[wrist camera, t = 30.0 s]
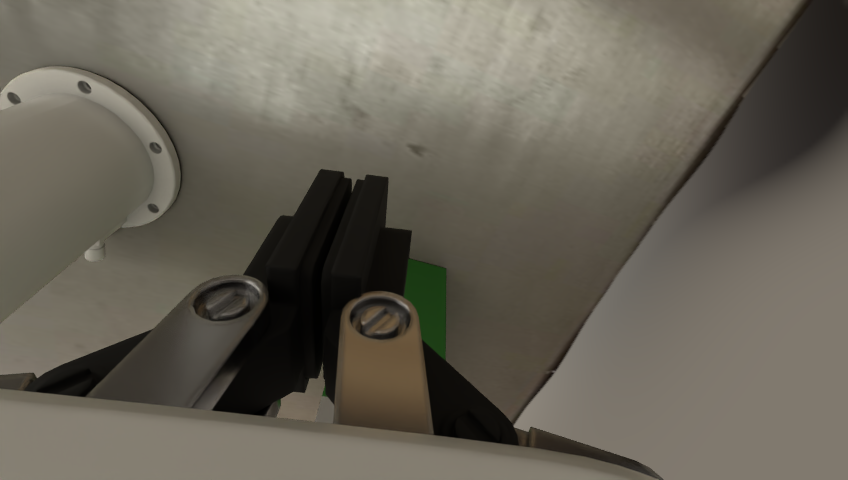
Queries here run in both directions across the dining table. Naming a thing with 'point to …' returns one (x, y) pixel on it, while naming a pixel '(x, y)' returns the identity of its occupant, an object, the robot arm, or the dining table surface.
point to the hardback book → (430, 303)
